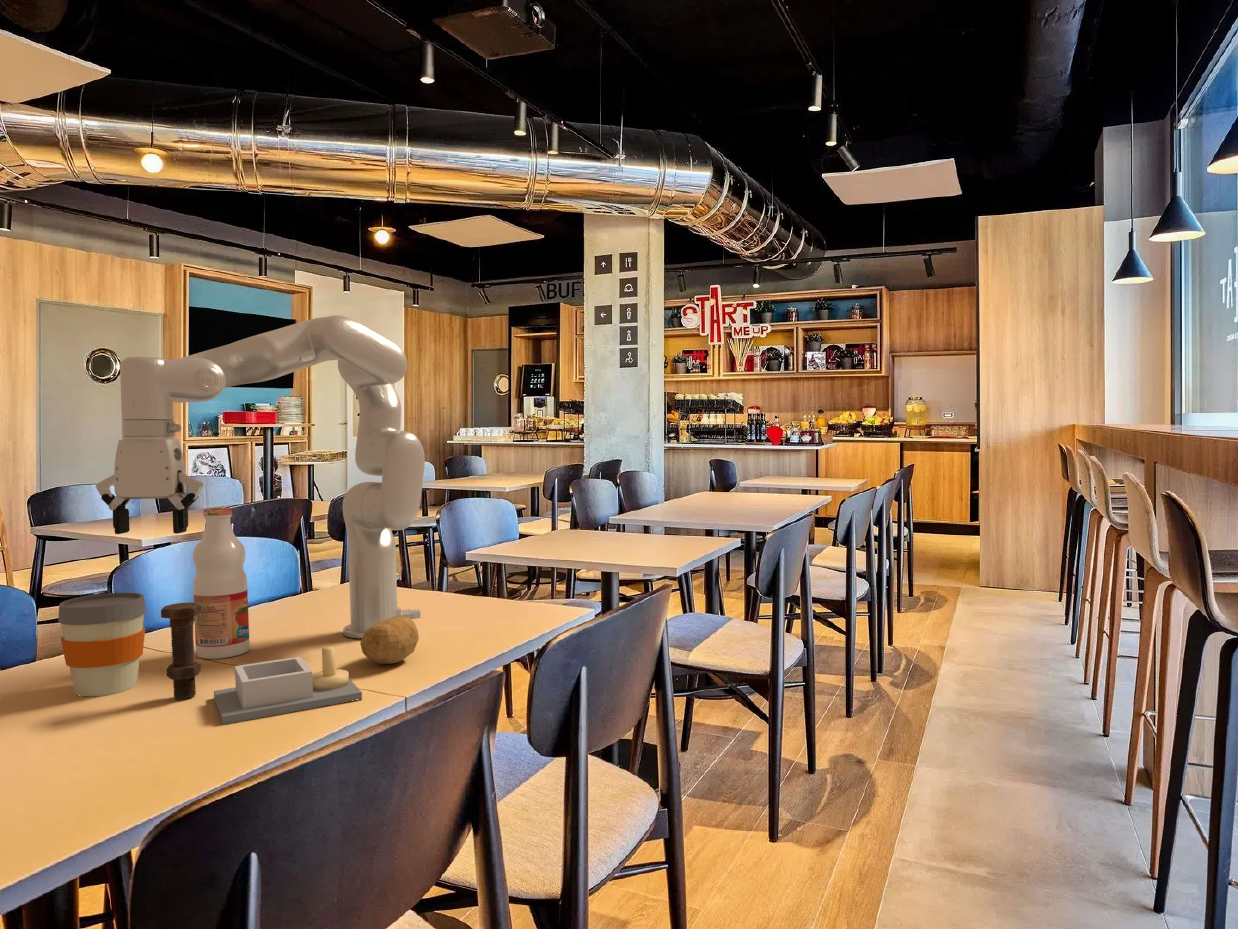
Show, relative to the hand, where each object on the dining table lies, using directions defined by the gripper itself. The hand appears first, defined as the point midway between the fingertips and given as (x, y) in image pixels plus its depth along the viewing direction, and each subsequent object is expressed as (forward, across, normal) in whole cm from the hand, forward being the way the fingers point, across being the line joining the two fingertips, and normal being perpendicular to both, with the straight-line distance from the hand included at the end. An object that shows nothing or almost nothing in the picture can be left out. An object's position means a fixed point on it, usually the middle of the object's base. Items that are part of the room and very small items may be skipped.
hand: (151, 532), depth 140 cm
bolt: (+26, -8, +7) cm, 28 cm away
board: (+26, -26, +9) cm, 37 cm away
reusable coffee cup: (+26, +8, +1) cm, 27 cm away
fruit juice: (+26, -2, -20) cm, 33 cm away
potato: (+26, -37, -12) cm, 47 cm away
